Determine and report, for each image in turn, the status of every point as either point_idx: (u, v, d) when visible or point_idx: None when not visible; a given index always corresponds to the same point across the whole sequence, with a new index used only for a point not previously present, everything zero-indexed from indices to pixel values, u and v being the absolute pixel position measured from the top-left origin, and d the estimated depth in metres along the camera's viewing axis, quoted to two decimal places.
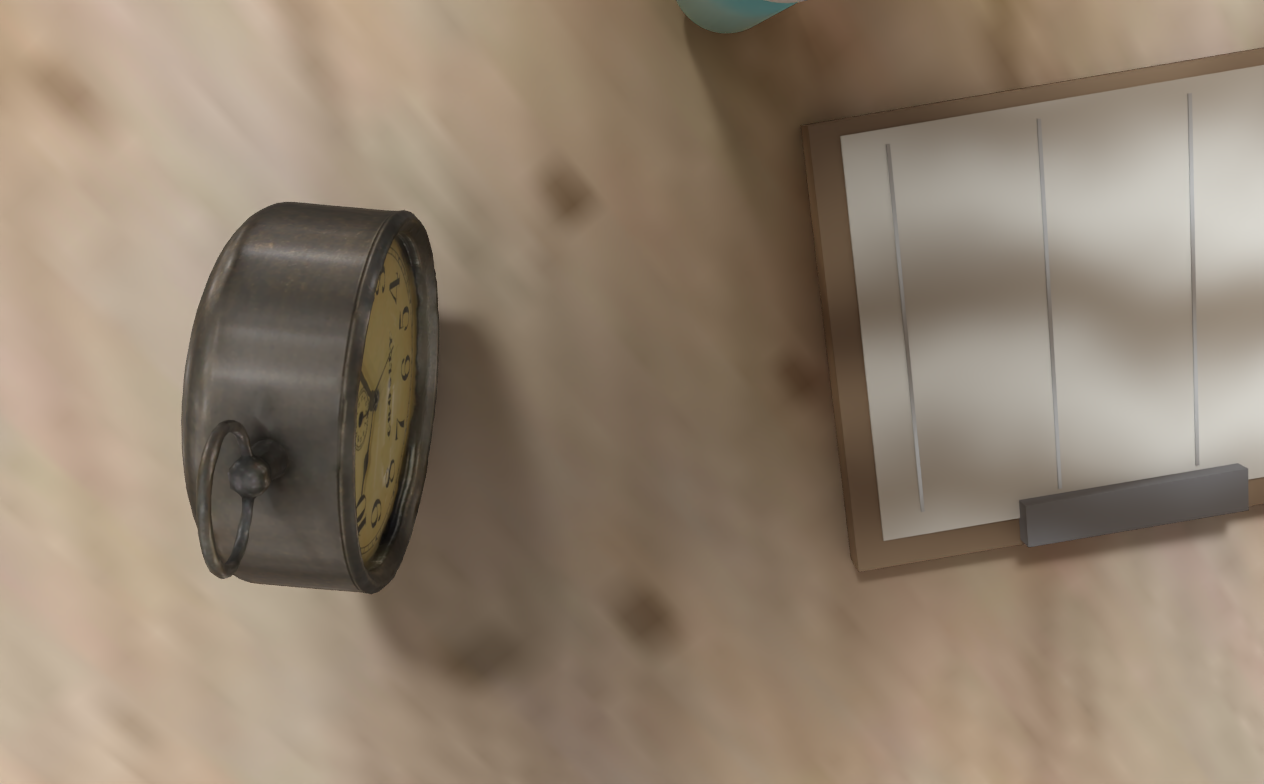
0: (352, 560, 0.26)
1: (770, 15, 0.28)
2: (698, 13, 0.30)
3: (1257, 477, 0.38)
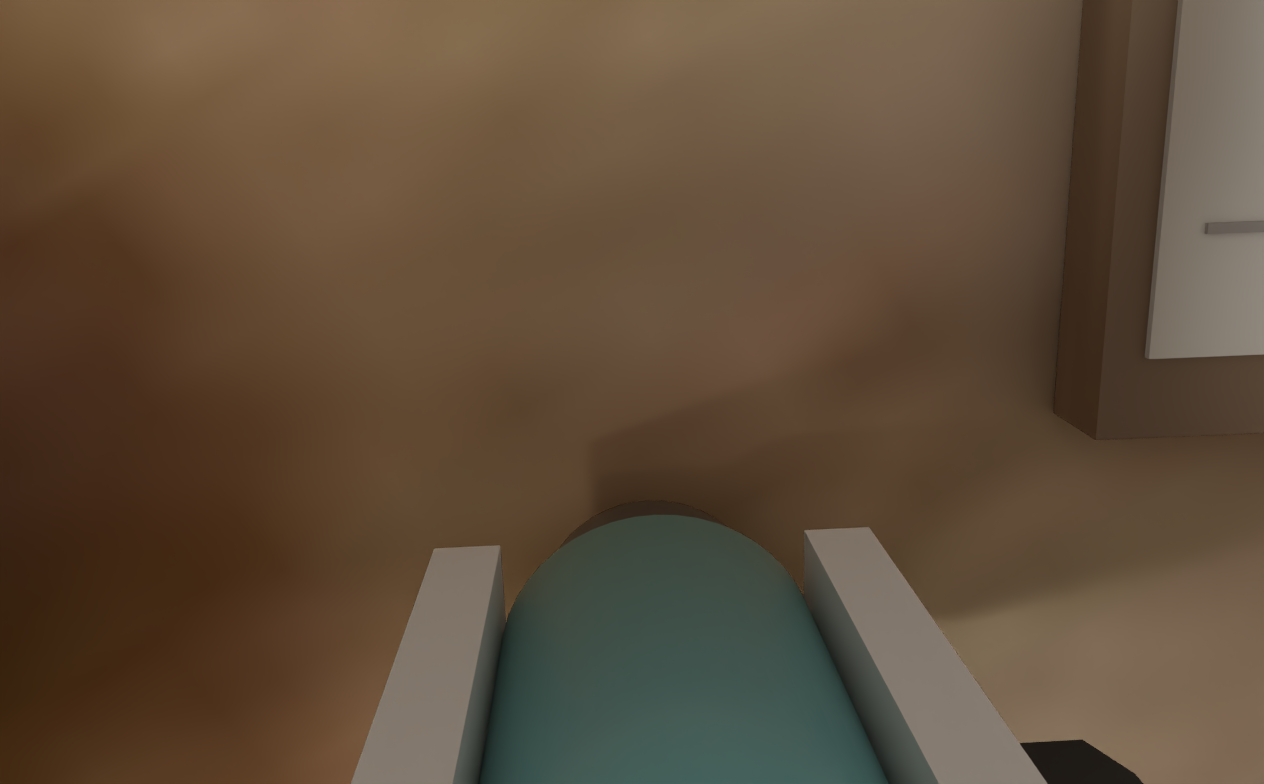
0: None
1: None
2: None
3: None
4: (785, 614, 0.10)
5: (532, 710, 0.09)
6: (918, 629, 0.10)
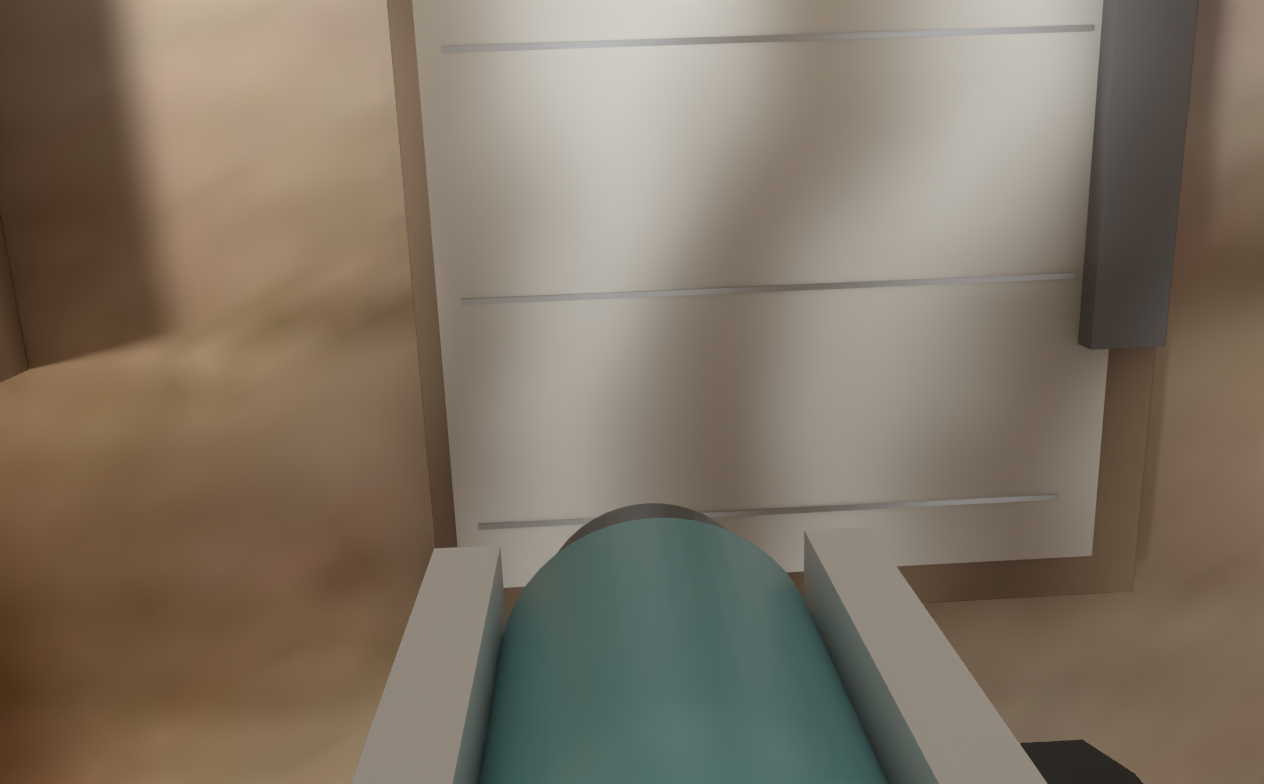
0: None
1: None
2: None
3: None
4: (786, 618, 0.10)
5: (531, 715, 0.08)
6: (918, 629, 0.10)
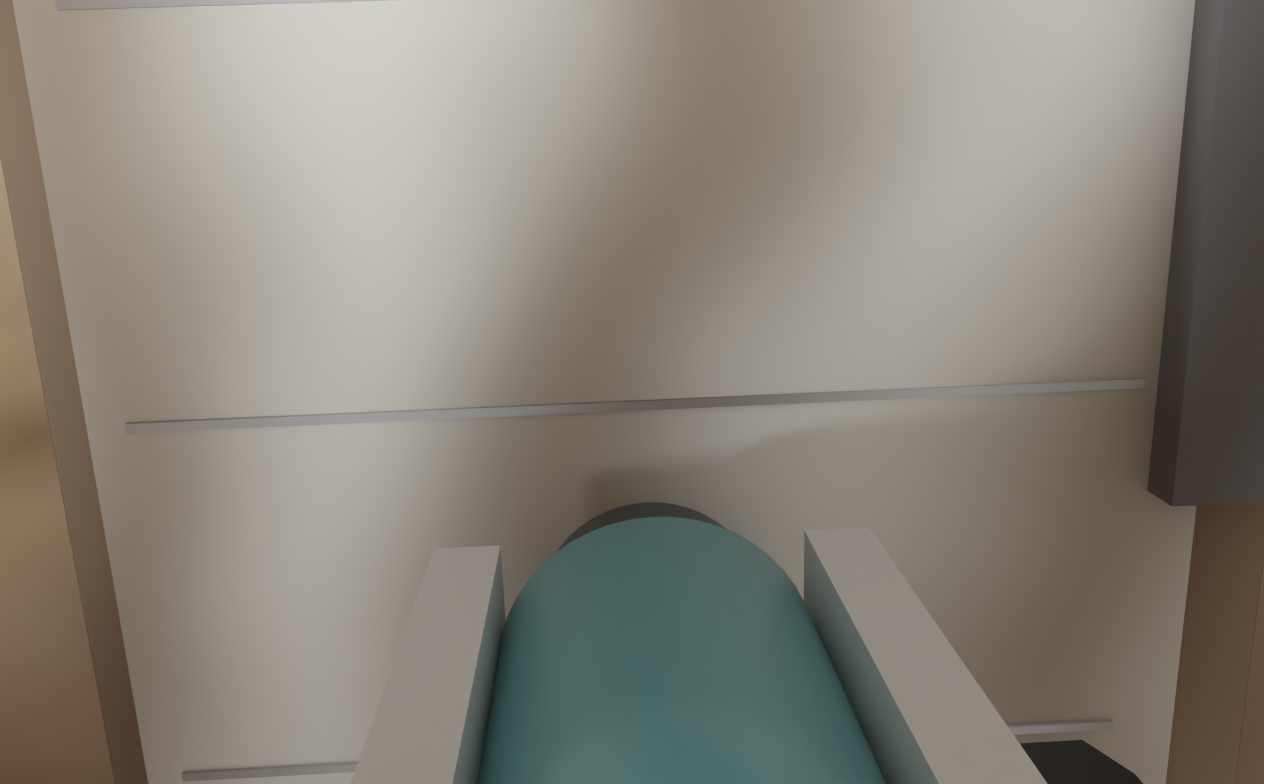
0: None
1: None
2: None
3: None
4: (784, 616, 0.10)
5: (529, 713, 0.08)
6: (918, 629, 0.10)
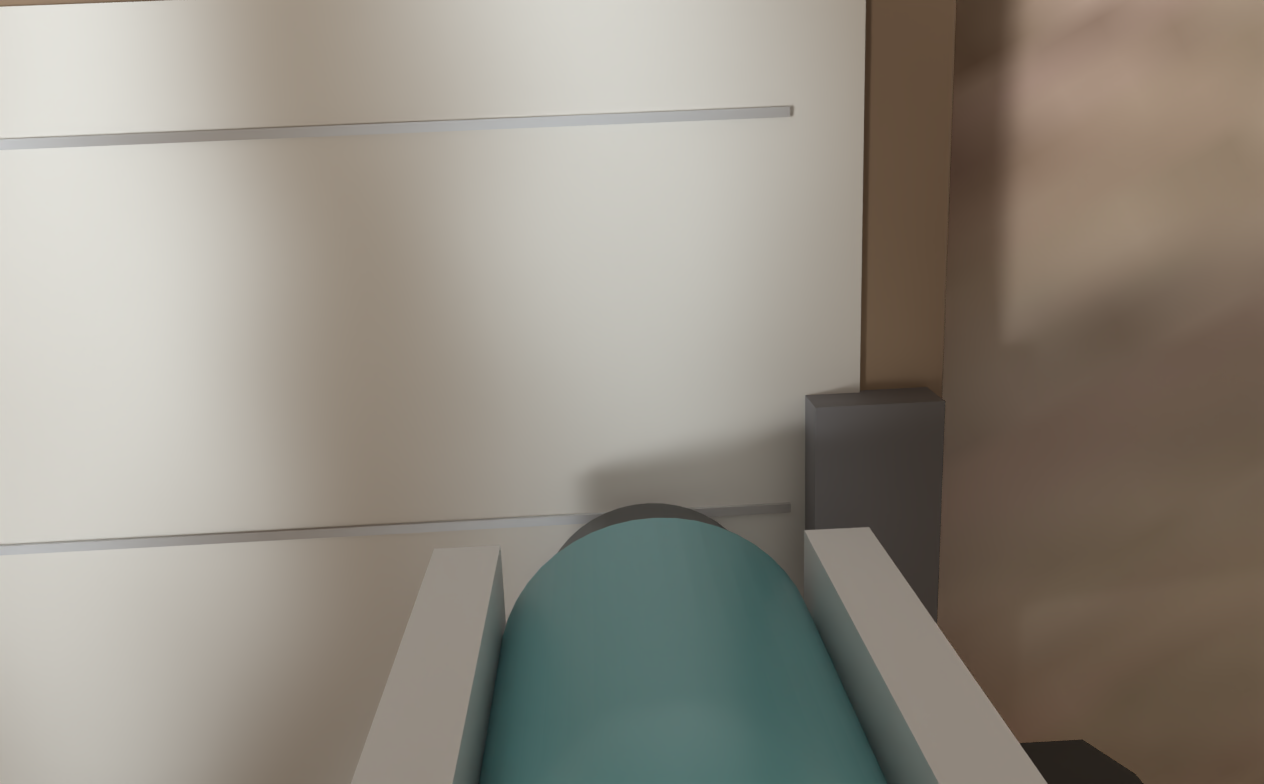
0: None
1: None
2: None
3: (860, 334, 0.13)
4: (785, 618, 0.10)
5: (531, 715, 0.08)
6: (918, 629, 0.10)
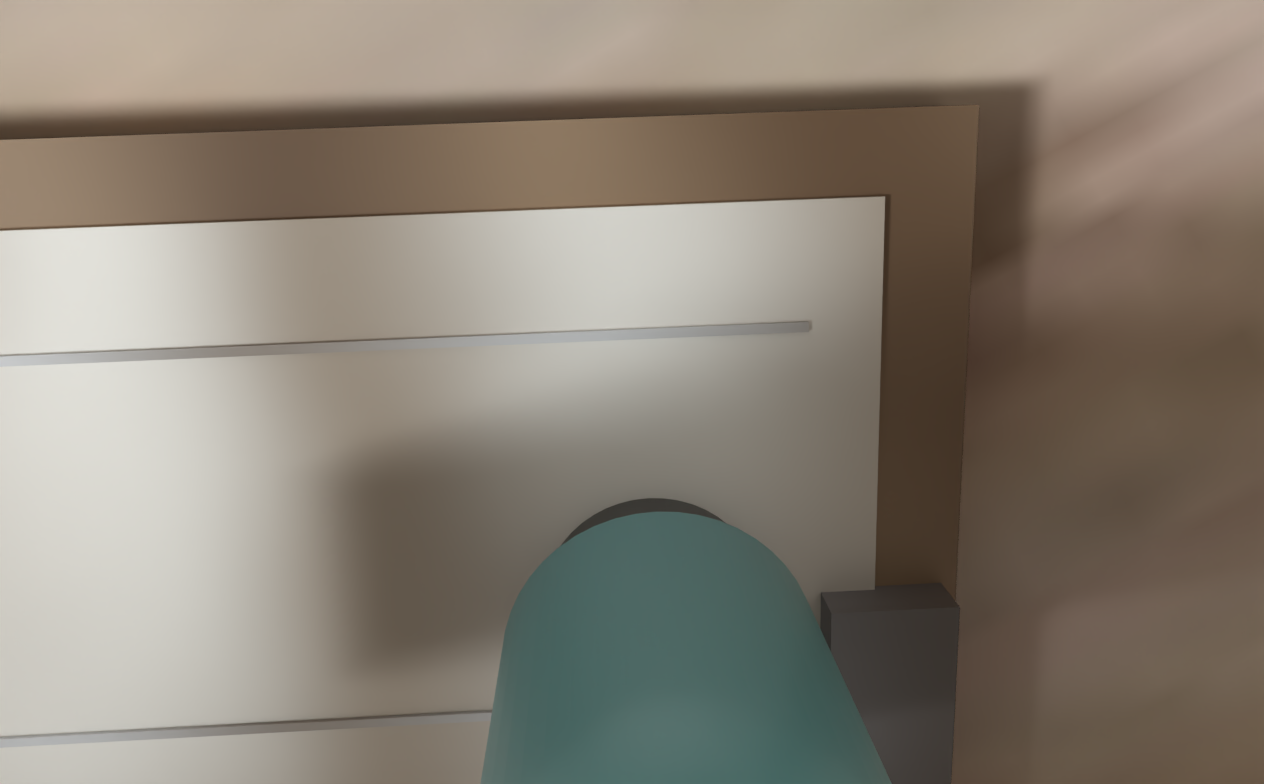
0: None
1: None
2: None
3: (875, 534, 0.13)
4: (786, 609, 0.10)
5: (532, 704, 0.09)
6: None
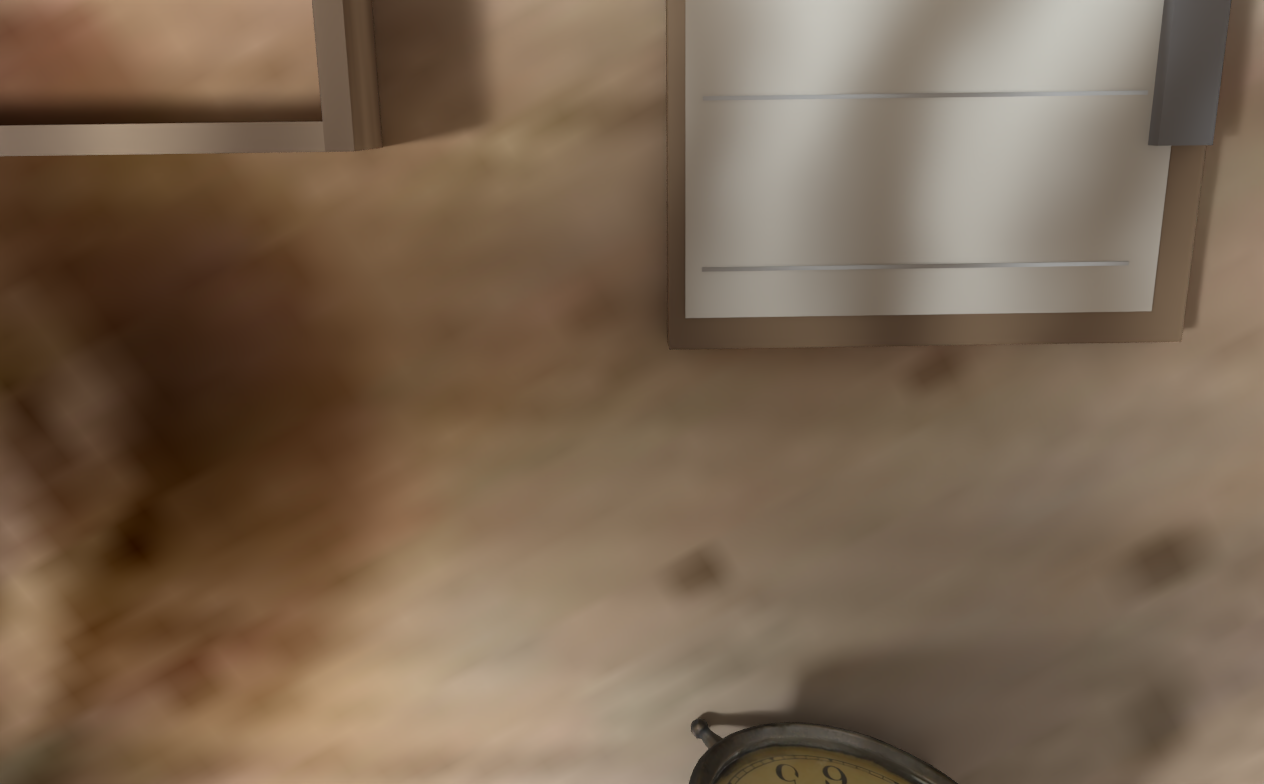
0: None
1: None
2: None
3: None
4: None
5: None
6: None
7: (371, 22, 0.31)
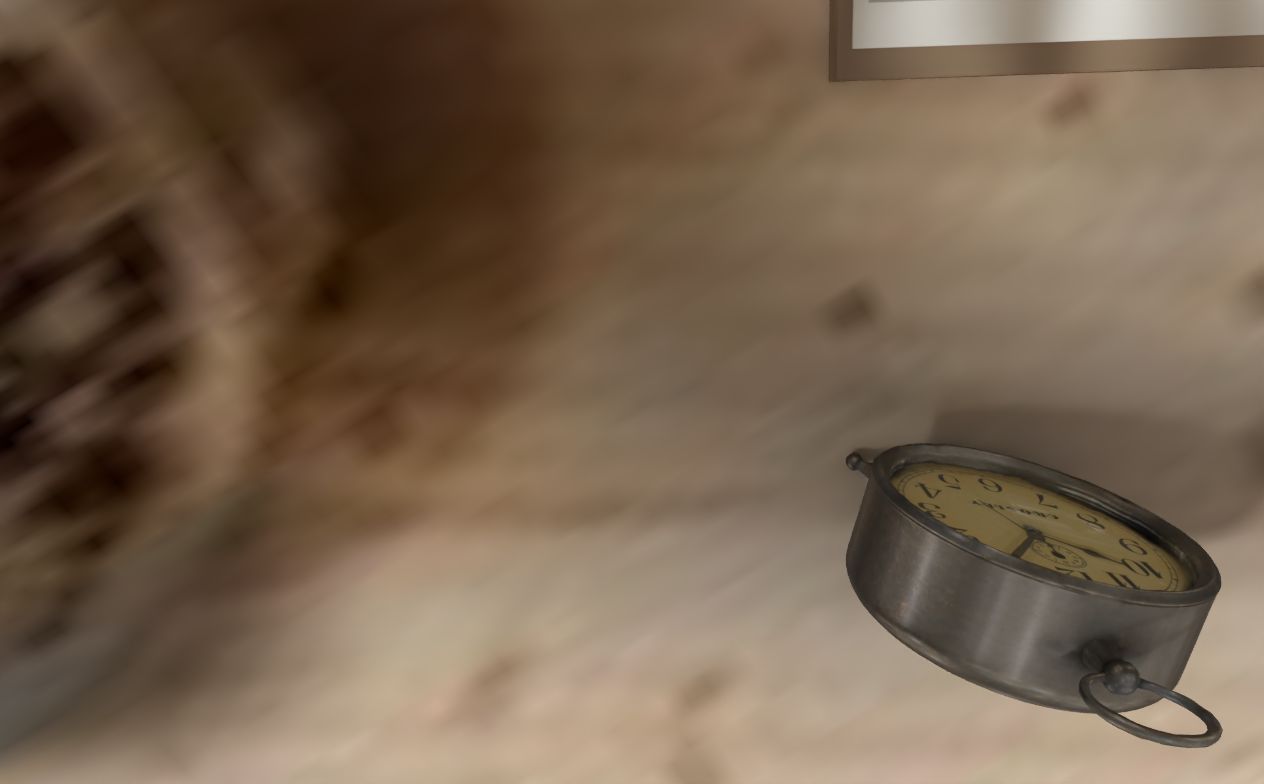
0: (1200, 598, 0.30)
1: None
2: None
3: None
4: None
5: None
6: None
7: None
